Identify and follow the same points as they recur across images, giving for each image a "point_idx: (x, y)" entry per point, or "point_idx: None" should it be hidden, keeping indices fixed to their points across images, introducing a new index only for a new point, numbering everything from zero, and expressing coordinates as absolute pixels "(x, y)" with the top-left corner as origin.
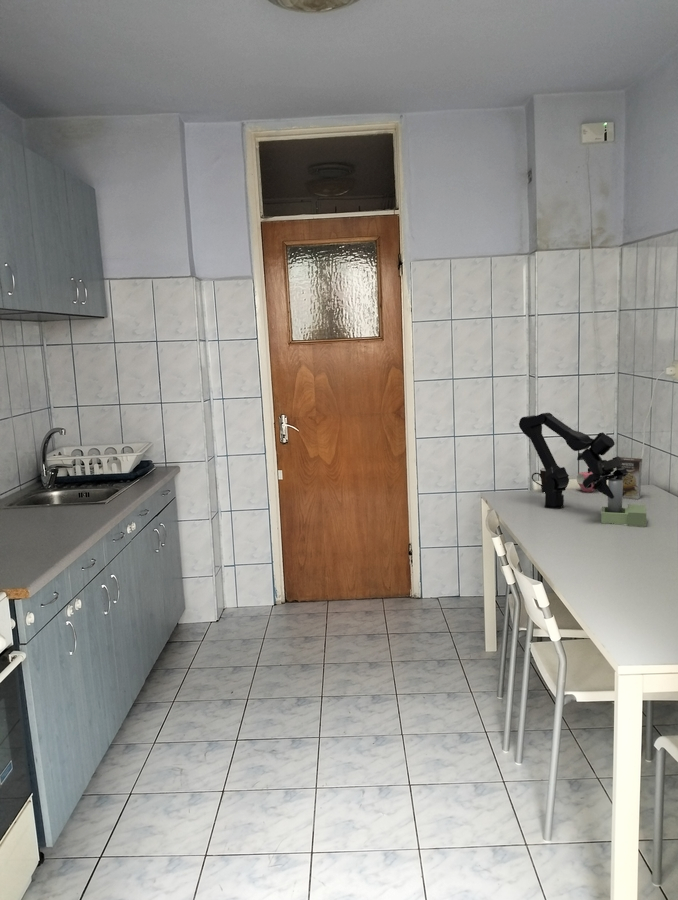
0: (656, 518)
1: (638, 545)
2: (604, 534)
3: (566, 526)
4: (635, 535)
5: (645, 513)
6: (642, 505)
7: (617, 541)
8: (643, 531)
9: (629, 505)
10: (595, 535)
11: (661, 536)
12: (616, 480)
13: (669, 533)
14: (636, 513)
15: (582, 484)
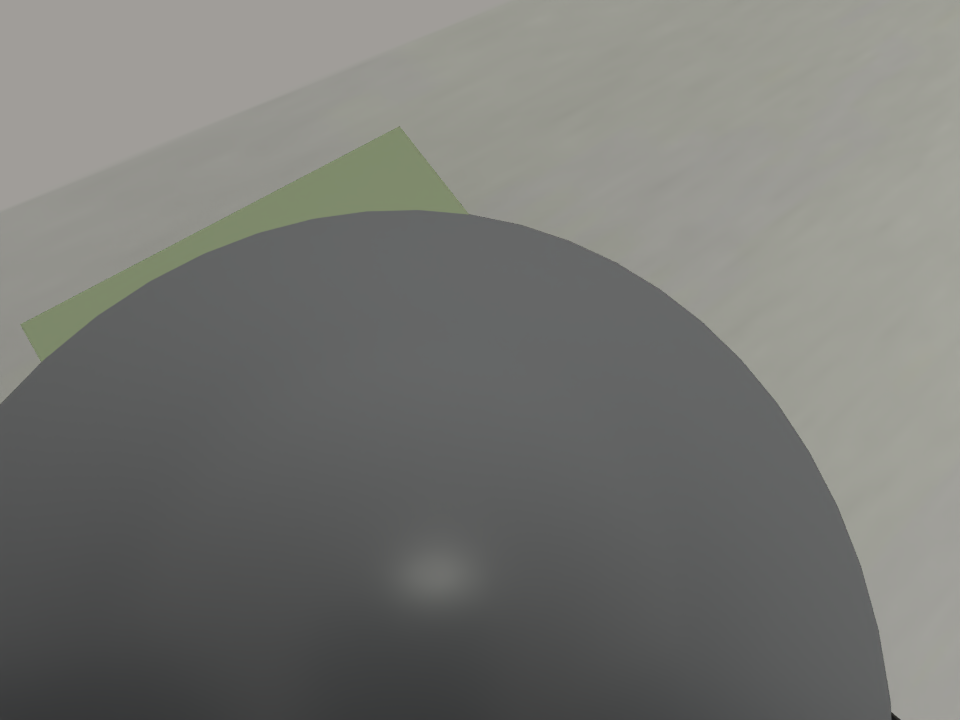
0: (72, 296)
1: (804, 45)
2: (820, 306)
3: (945, 691)
4: (657, 154)
5: (404, 135)
6: (67, 337)
7: (856, 160)
8: (530, 167)
9: None
10: (894, 334)
11: (539, 40)
12: (334, 640)
13: (436, 37)
14: (459, 204)
15: None
